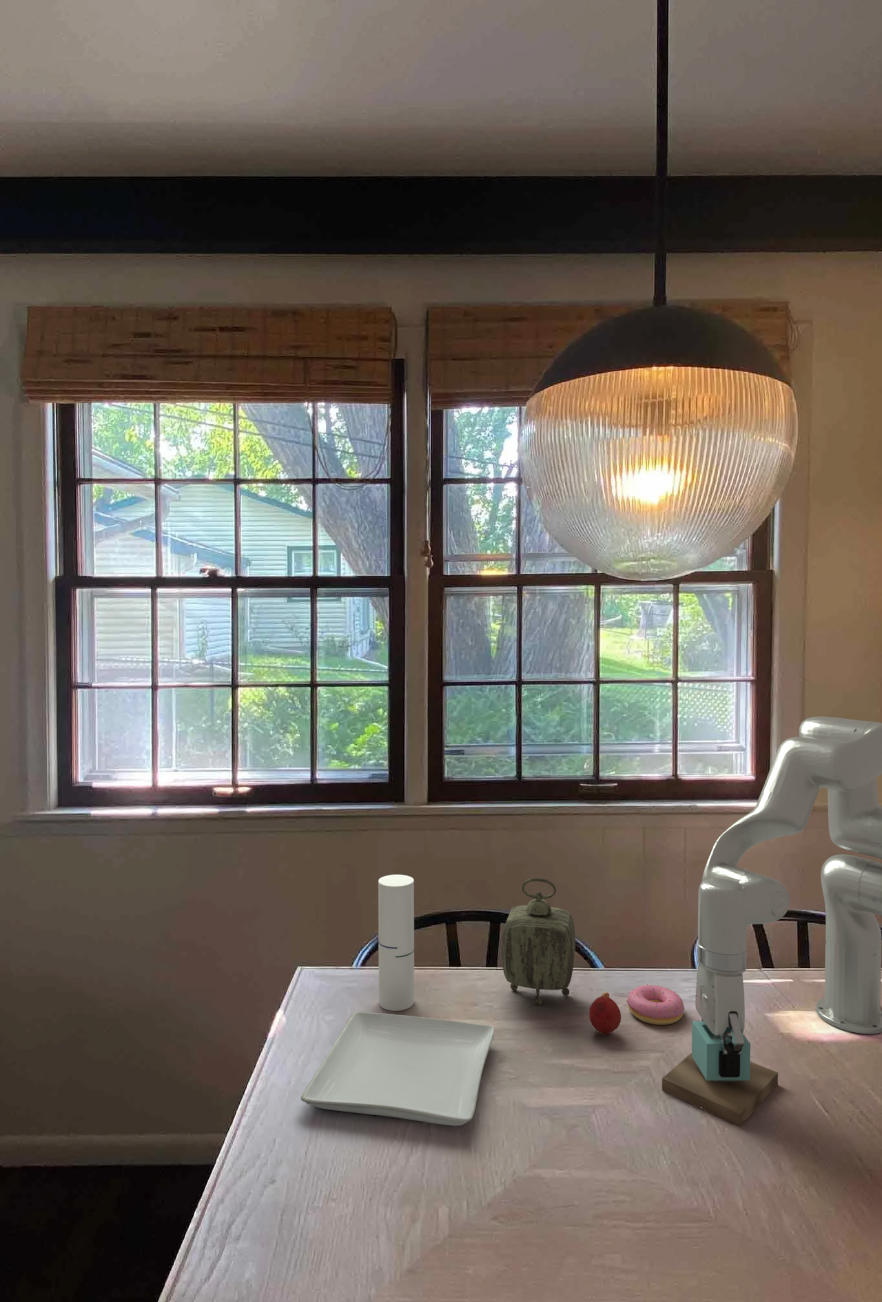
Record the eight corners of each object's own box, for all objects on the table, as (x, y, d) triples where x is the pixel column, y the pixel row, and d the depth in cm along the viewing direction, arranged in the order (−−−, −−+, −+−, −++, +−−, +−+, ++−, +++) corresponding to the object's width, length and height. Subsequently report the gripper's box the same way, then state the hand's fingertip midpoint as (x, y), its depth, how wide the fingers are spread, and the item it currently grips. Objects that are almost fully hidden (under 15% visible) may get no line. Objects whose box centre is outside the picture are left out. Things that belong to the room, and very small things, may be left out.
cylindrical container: (383, 992, 158) (382, 873, 157) (416, 994, 157) (416, 875, 156) (375, 1009, 151) (374, 885, 150) (410, 1012, 150) (410, 887, 149)
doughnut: (616, 1016, 149) (617, 995, 149) (642, 995, 157) (642, 975, 157) (670, 1035, 142) (670, 1013, 142) (693, 1012, 150) (693, 992, 150)
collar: (691, 1055, 129) (692, 1021, 129) (732, 1055, 129) (733, 1021, 129) (706, 1080, 122) (706, 1043, 122) (749, 1080, 122) (750, 1043, 122)
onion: (607, 1047, 138) (608, 1003, 137) (582, 1034, 142) (582, 992, 142) (626, 1035, 141) (627, 993, 141) (601, 1023, 146) (601, 982, 145)
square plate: (353, 1028, 145) (353, 1008, 145) (496, 1044, 139) (496, 1023, 139) (298, 1119, 118) (298, 1094, 118) (471, 1143, 113) (471, 1117, 112)
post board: (703, 1053, 135) (703, 1009, 135) (777, 1084, 126) (778, 1037, 126) (661, 1090, 125) (662, 1042, 124) (740, 1126, 116) (740, 1075, 115)
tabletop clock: (575, 993, 158) (575, 874, 157) (572, 1014, 149) (573, 889, 148) (506, 985, 161) (506, 869, 160) (499, 1006, 152) (500, 883, 151)
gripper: (681, 935, 133) (680, 1034, 134) (718, 981, 116) (717, 1095, 117) (724, 935, 133) (722, 1034, 134) (767, 981, 116) (765, 1095, 117)
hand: (720, 1061), depth 125 cm, fingers closed on collar, 7 cm apart
